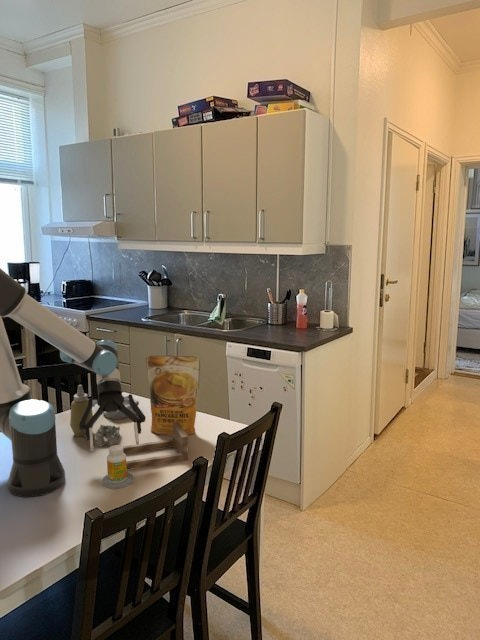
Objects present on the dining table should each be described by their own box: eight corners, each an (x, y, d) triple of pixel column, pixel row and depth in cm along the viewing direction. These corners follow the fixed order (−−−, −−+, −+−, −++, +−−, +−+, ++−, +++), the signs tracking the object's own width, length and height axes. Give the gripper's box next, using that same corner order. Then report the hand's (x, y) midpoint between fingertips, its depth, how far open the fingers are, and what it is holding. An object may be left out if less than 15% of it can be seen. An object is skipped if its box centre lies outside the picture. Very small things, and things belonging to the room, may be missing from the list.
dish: (118, 422, 186) (118, 410, 185) (93, 415, 194) (93, 403, 193) (145, 411, 198) (145, 399, 197) (121, 404, 205) (120, 392, 204)
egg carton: (115, 446, 166) (114, 435, 165) (93, 446, 166) (92, 435, 165) (122, 433, 177) (121, 422, 176) (101, 433, 177) (100, 422, 176)
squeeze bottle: (94, 427, 181) (91, 380, 178) (94, 436, 173) (92, 387, 170) (70, 430, 178) (68, 382, 175) (70, 439, 171) (67, 390, 167)
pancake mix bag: (150, 426, 182) (148, 353, 177) (201, 429, 181) (200, 355, 175) (145, 434, 176) (142, 358, 170) (197, 436, 174) (197, 360, 169)
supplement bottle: (114, 485, 140) (112, 453, 138) (104, 478, 143) (102, 447, 142) (130, 479, 143) (129, 447, 142) (120, 472, 147) (119, 442, 145)
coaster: (103, 490, 138) (103, 489, 138) (100, 475, 146) (100, 474, 146) (135, 485, 141) (135, 483, 141) (131, 470, 149) (131, 469, 149)
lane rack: (122, 470, 150) (121, 445, 148) (117, 452, 161) (116, 429, 160) (188, 459, 157) (187, 436, 155) (179, 443, 168) (178, 421, 167)
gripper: (146, 385, 168) (154, 445, 157) (69, 393, 160) (72, 456, 149) (148, 375, 162) (157, 436, 151) (68, 383, 154) (71, 448, 144)
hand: (115, 446), depth 150 cm, fingers open, 13 cm apart
